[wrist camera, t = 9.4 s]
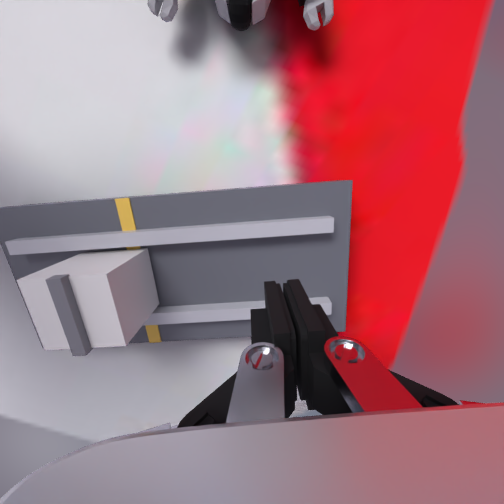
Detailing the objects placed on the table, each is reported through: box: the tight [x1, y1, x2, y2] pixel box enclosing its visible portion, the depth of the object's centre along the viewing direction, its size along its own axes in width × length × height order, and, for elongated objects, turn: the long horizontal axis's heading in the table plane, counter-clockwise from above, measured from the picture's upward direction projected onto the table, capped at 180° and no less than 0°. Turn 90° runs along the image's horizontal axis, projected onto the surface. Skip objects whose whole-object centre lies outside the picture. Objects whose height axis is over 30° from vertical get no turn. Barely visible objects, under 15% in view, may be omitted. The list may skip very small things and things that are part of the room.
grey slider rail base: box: [0, 180, 352, 348], centre depth 19 cm, size 12×26×4 cm, turn 94°
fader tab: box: [17, 248, 160, 356], centre depth 15 cm, size 5×5×6 cm
